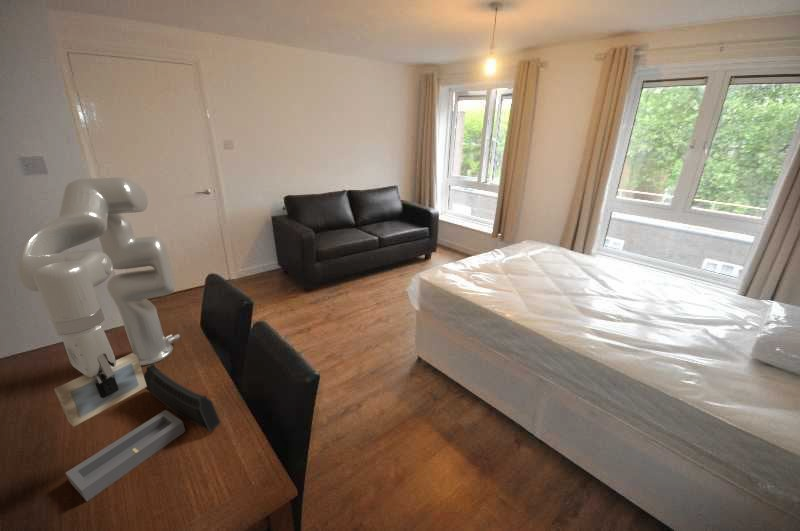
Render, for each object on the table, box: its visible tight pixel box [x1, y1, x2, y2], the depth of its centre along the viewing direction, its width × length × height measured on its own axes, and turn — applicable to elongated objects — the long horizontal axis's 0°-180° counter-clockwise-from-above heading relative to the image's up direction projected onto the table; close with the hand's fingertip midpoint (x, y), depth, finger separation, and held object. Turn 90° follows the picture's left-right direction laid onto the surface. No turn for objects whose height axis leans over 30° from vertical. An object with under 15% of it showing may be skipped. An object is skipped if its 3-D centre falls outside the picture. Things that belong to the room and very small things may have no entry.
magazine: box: [143, 363, 221, 432], centre depth 93 cm, size 17×3×30 cm
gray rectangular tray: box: [65, 409, 186, 502], centre depth 81 cm, size 21×8×4 cm, turn 151°
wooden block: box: [53, 352, 147, 427], centre depth 75 cm, size 14×3×9 cm, turn 151°
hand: (106, 390), depth 75 cm, fingers closed on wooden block, 2 cm apart
